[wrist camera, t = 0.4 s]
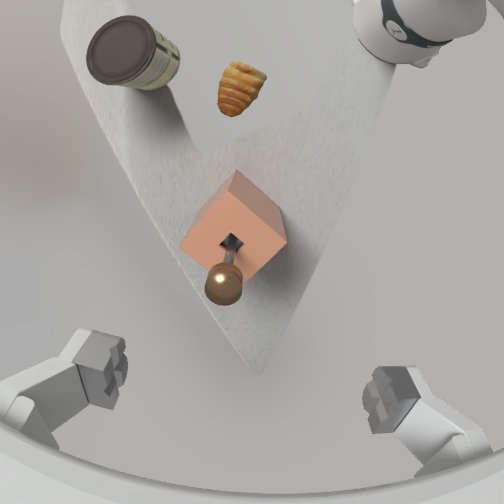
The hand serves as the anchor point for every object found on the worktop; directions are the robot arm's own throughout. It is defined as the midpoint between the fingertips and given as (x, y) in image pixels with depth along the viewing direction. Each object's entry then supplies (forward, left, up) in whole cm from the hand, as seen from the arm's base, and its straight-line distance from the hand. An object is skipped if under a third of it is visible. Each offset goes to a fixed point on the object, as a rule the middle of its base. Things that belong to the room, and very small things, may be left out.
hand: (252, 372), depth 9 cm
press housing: (+8, +3, -46) cm, 46 cm away
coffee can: (-2, -26, -46) cm, 53 cm away
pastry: (-8, -11, -46) cm, 48 cm away
